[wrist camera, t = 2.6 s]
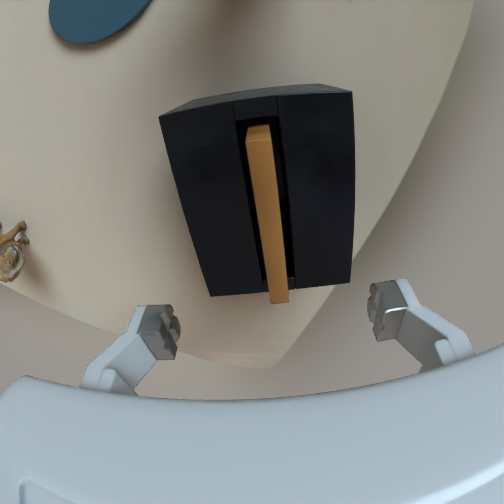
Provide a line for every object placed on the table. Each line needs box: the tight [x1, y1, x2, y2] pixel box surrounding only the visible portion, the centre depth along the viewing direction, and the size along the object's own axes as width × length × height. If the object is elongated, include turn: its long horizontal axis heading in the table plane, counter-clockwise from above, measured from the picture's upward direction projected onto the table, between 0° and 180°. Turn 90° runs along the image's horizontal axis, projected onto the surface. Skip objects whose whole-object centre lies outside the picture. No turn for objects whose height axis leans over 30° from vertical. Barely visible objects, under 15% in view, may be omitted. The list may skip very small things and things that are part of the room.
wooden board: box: [245, 117, 289, 304], centre depth 19 cm, size 1×10×10 cm, turn 8°
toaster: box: [159, 84, 355, 297], centre depth 22 cm, size 11×15×9 cm
